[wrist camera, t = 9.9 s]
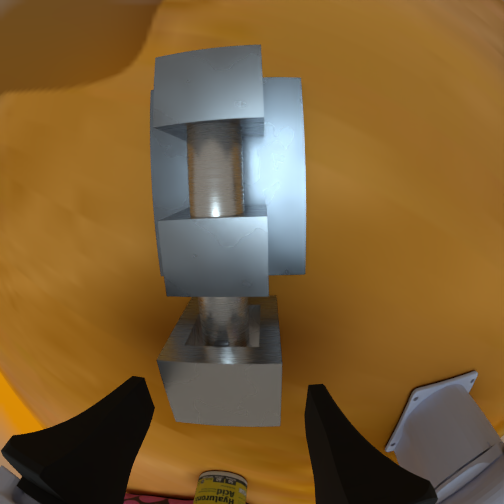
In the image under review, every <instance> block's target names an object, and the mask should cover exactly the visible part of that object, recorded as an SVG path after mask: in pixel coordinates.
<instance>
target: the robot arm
mask: <svg viewBox="0 0 504 504" xmlns="http://www.w3.org/2000/svg"><path fill="white" fill-rule="evenodd" d="M477 375H478V373H477V372H476V371H473V372H470V373H467V374H464V375H461V376H458V377H455V378H452V379H449V380H445V381H442V382H439V383H435V384H431V385H428V386H424V387H420V388H416V389H415V390H414V391H413V392H412V394H411V396H410V398H409V401H408V403H407V405H406V407H405V410H404V412H403V414H402V416H401V418H400V420H399V423H398V425H397V427H396V429H395V431H394V433H393V435H392V436H391V438H390V440H389V442H388V444H387V446H386V448H385V451H386V452H390V451H394V452H395V455H396V458H397V460H398V463H399V465H398V464H396V463H395V462H393V461H392V460H390V459H389V458H387V457H386V456H385V455H383V454H382V453H381V452H379V451H378V450H377V449H376V448H375V447H373V446H372V445H371V444H370V443H369V442H368V441H367V440H366V439H365V438H364V437H363V436H362V435H361V434H360V433H359V432H358V431H357V430H356V429H355V427H354V426H353V425H352V424H351V423H350V422H349V420H348V419H347V418H346V417H345V415H344V414H343V413H342V411H341V410H340V409H339V407H338V406H337V404H336V403H335V401H334V400H333V398H332V397H331V395H330V394H329V392H328V390H327V389H326V387H325V385H323V384H315V385H308V393H307V401H306V408H305V430H306V438H307V443H308V449H309V454H310V459H311V464H312V469H313V474H314V482H315V498H316V504H504V443H503V442H502V440H501V439H500V437H499V435H498V434H497V432H496V431H495V429H494V428H493V426H492V425H491V424H490V422H489V421H488V419H487V418H486V416H485V415H484V413H483V412H482V411H481V409H480V408H479V406H478V405H477V404H476V402H475V401H474V400H473V398H472V397H471V396H470V394H469V392H470V390H471V388H472V386H473V384H474V382H475V380H476V377H477ZM154 409H155V407H154V405H153V402H152V399H151V396H150V393H149V390H148V388H147V385H146V382H145V378H142V377H136V376H132V377H131V378H129V379H128V380H127V381H125V382H124V383H123V384H122V385H120V386H119V387H118V388H116V389H115V390H114V391H113V392H111V393H110V394H109V395H107V396H106V397H105V398H103V399H102V400H101V401H99V402H98V403H96V404H95V405H93V406H92V407H90V408H89V409H87V410H86V411H84V412H82V413H81V414H79V415H77V416H75V417H73V418H71V419H69V420H67V421H65V422H63V423H60V424H58V425H55V426H53V427H50V428H47V429H44V430H40V431H36V432H32V433H27V434H21V435H13V436H12V437H11V438H10V440H9V441H8V442H7V443H6V445H5V446H4V448H3V449H2V450H1V452H2V454H3V456H4V457H5V459H6V460H7V461H8V462H9V463H10V464H11V465H12V466H13V467H14V468H15V469H16V470H17V471H18V472H19V473H20V474H21V475H22V478H21V479H19V478H18V477H16V476H15V475H14V474H13V473H12V472H10V471H9V470H8V469H6V468H5V467H4V466H1V467H0V504H123V503H124V497H125V493H126V488H127V484H128V480H129V476H130V472H131V469H132V466H133V463H134V460H135V458H136V456H137V454H138V451H139V449H140V447H141V445H142V442H143V440H144V438H145V436H146V433H147V431H148V429H149V426H150V423H151V420H152V416H153V412H154Z"/></svg>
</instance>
